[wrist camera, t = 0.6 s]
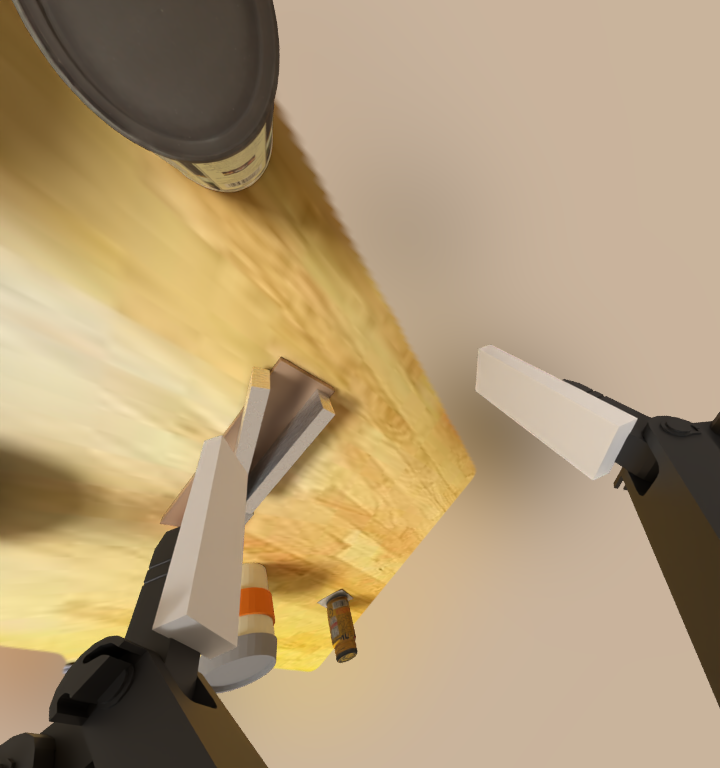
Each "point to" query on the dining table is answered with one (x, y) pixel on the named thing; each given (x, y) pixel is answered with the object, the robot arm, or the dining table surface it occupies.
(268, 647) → the reusable coffee cup
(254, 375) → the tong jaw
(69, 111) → the dining table surface
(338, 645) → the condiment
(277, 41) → the coffee can
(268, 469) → the grey long bar
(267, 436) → the board
